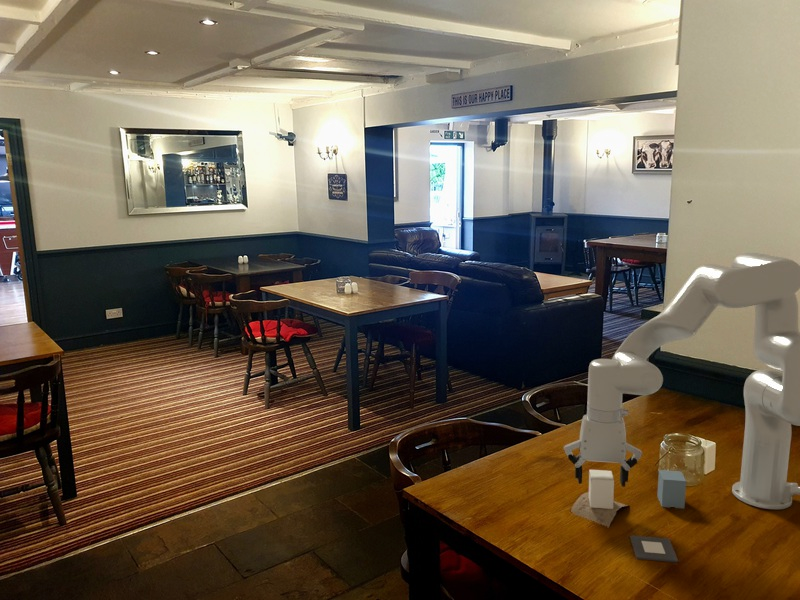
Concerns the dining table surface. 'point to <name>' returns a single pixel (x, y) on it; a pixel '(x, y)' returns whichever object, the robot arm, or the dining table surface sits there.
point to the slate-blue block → (671, 489)
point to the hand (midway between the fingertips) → (600, 482)
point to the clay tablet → (595, 510)
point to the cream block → (601, 489)
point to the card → (653, 548)
